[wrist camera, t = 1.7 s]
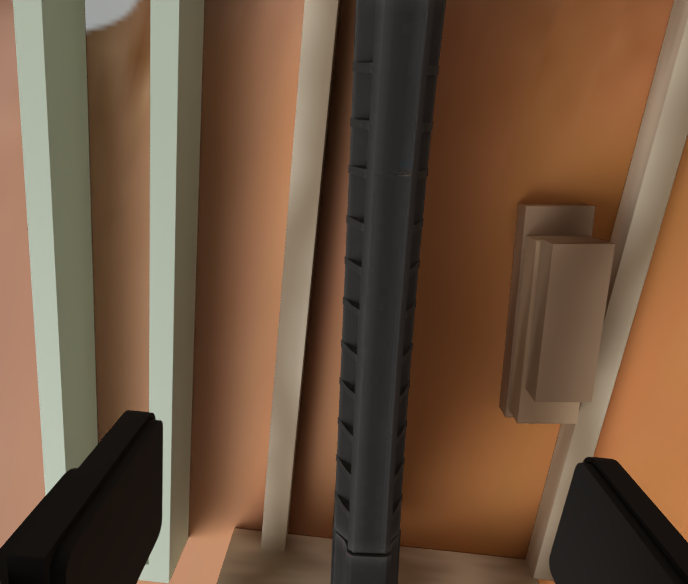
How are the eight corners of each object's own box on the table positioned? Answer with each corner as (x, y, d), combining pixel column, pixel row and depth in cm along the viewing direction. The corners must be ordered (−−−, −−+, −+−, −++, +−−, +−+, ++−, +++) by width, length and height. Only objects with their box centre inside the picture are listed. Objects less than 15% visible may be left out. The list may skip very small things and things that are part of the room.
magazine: (361, -219, 14) (314, 844, 14) (475, -215, 14) (431, 851, 14) (353, 66, 31) (332, 540, 31) (404, 68, 31) (384, 542, 31)
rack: (733, -96, 22) (867, -184, 16) (537, 597, 33) (576, 691, 27) (276, -153, 22) (248, -263, 16) (232, 564, 33) (206, 652, 27)
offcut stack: (582, 203, 26) (627, 212, 22) (556, 404, 29) (591, 447, 25) (516, 203, 26) (548, 213, 22) (498, 404, 30) (522, 447, 25)
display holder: (208, -114, 22) (182, -161, 19) (188, 538, 32) (168, 583, 29) (54, -133, 22) (0, -184, 19) (82, 526, 32) (50, 570, 29)
